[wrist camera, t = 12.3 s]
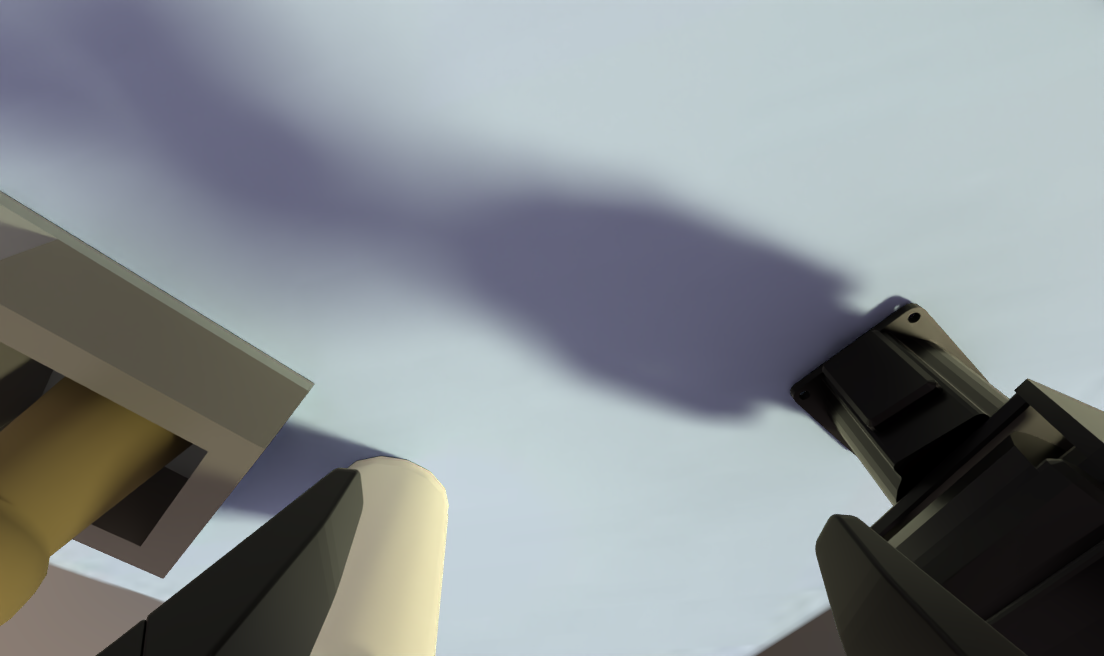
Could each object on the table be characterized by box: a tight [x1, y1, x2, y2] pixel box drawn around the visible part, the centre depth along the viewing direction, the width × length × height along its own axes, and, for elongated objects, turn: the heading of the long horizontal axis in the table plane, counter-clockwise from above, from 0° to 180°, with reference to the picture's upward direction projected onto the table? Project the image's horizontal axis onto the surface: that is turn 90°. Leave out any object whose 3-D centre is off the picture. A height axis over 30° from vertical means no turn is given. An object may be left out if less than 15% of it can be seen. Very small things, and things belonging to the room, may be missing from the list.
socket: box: [0, 191, 314, 579], centre depth 23 cm, size 16×16×5 cm
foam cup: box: [310, 456, 449, 656], centre depth 22 cm, size 10×9×13 cm
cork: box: [0, 376, 193, 626], centre depth 19 cm, size 6×6×11 cm
